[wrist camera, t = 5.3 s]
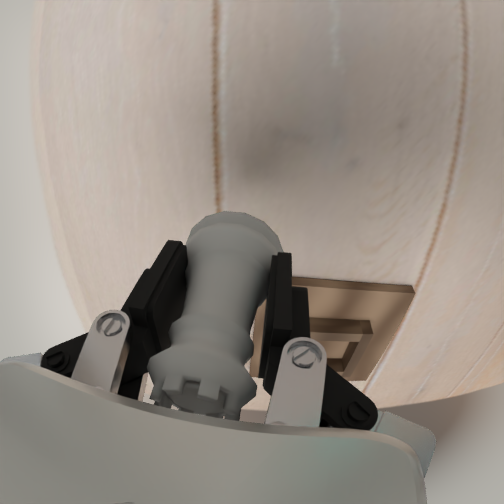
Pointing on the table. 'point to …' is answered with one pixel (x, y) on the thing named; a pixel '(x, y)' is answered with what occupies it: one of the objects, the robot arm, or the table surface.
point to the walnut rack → (347, 322)
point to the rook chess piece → (216, 318)
